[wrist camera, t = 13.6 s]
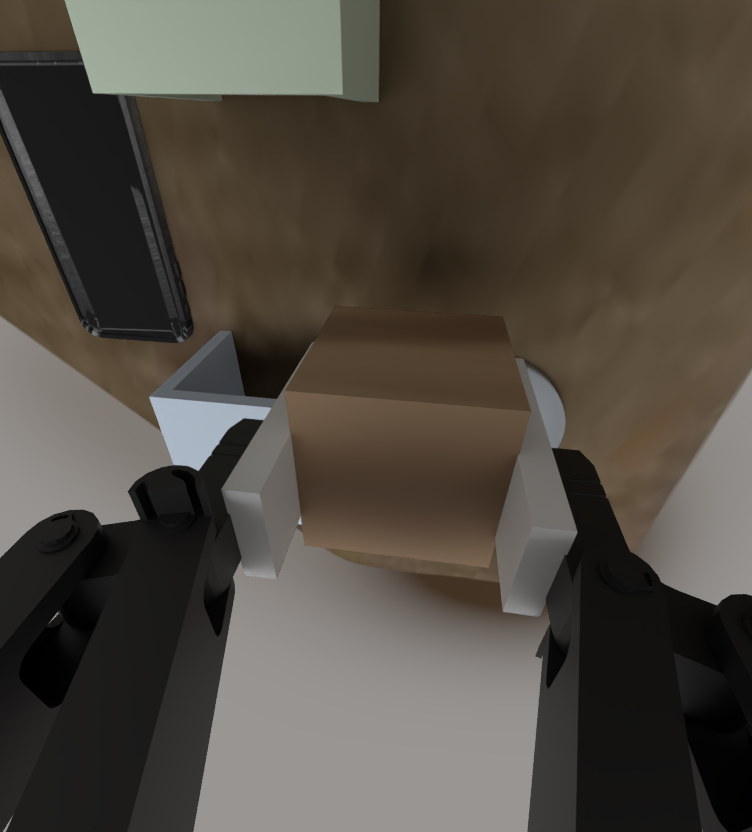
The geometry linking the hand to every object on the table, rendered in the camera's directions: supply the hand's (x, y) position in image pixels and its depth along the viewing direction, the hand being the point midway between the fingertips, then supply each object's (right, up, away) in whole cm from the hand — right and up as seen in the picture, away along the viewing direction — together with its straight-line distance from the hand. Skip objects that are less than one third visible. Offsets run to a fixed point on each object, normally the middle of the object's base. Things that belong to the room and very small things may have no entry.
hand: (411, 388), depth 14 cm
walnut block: (0, 0, 0) cm, 0 cm away
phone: (-17, +11, +12) cm, 24 cm away
